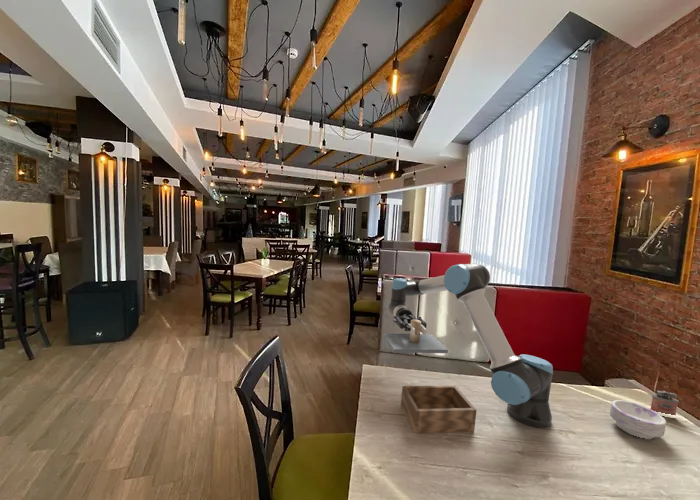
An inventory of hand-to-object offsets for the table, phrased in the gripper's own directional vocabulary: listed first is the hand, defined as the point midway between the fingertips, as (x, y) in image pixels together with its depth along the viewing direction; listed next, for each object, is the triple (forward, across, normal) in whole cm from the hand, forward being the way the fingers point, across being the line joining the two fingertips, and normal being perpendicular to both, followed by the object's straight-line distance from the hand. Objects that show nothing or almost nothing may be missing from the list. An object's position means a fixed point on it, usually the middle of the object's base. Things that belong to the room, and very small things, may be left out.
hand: (419, 332), depth 130 cm
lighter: (+18, -100, -27) cm, 105 cm away
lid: (-5, 0, -8) cm, 9 cm away
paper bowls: (+27, -77, -27) cm, 85 cm away
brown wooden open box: (+16, -3, -27) cm, 31 cm away
